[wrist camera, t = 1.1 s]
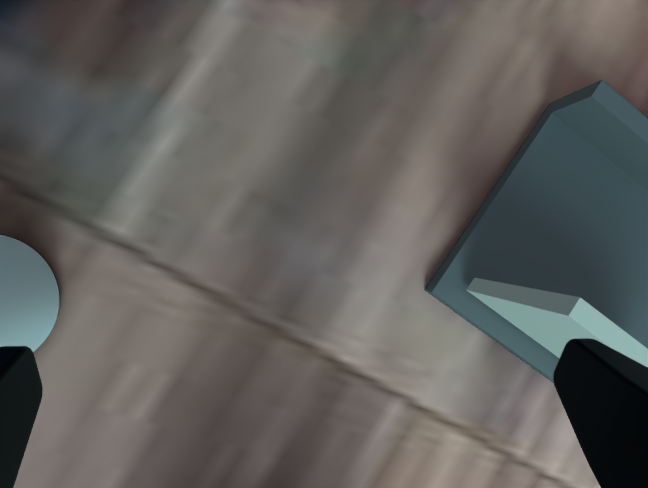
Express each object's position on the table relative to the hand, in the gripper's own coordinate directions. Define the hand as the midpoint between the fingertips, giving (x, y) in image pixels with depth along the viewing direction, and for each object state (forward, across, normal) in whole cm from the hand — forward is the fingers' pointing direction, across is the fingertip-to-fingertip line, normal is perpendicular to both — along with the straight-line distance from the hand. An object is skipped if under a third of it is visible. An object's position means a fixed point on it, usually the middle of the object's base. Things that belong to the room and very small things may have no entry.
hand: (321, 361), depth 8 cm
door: (+12, -15, +10) cm, 21 cm away
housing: (+15, -17, +7) cm, 24 cm away
